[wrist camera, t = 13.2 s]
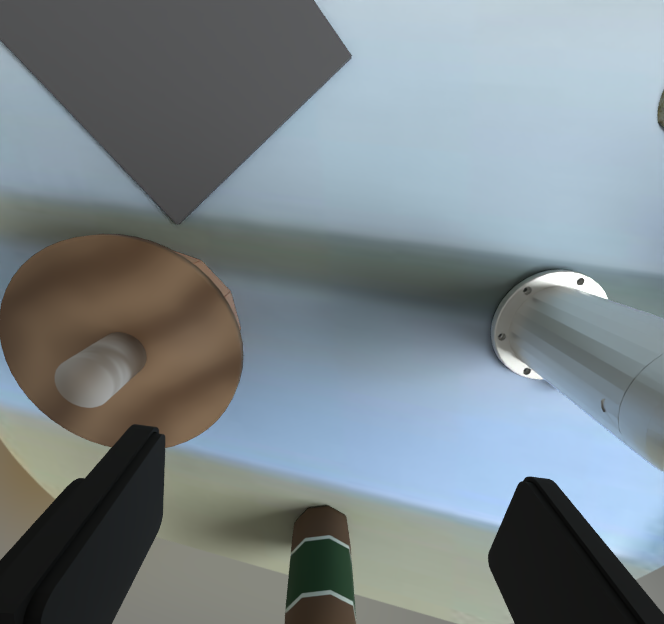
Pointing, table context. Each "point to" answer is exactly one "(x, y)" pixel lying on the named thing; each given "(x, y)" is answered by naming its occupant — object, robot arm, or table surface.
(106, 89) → the mat
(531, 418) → the table surface
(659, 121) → the soupspoon
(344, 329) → the table surface
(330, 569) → the beer bottle
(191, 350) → the lid
